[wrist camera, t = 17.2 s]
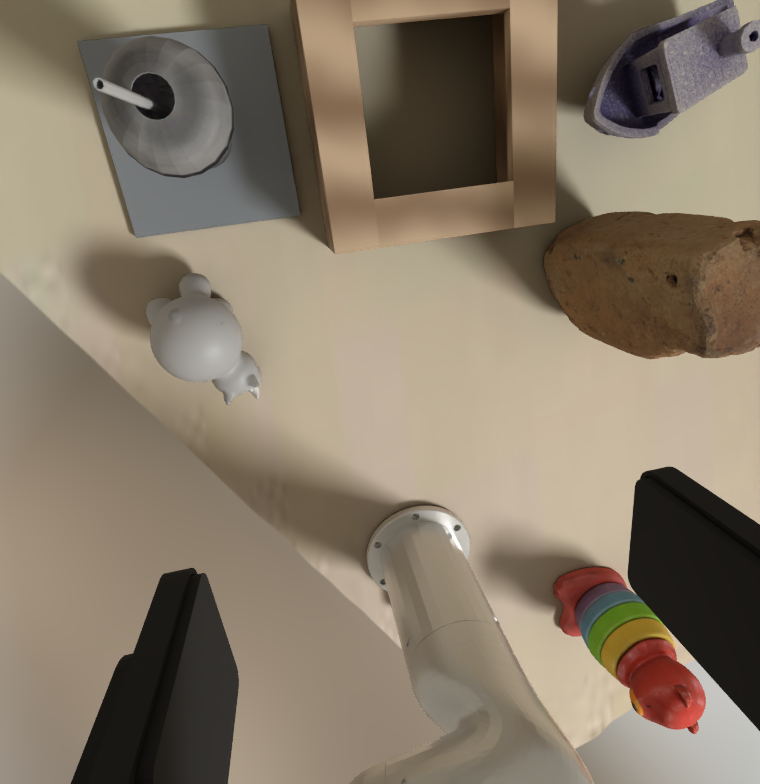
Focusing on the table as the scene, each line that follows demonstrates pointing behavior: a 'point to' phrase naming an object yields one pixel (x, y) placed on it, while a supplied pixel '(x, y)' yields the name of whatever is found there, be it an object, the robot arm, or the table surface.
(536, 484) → the table surface
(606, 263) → the block
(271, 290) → the table surface
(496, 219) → the box
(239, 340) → the chubby cartoon animal
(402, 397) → the table surface
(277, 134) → the mat
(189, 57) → the beverage cup
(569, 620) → the stacking bear
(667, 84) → the toy boat
